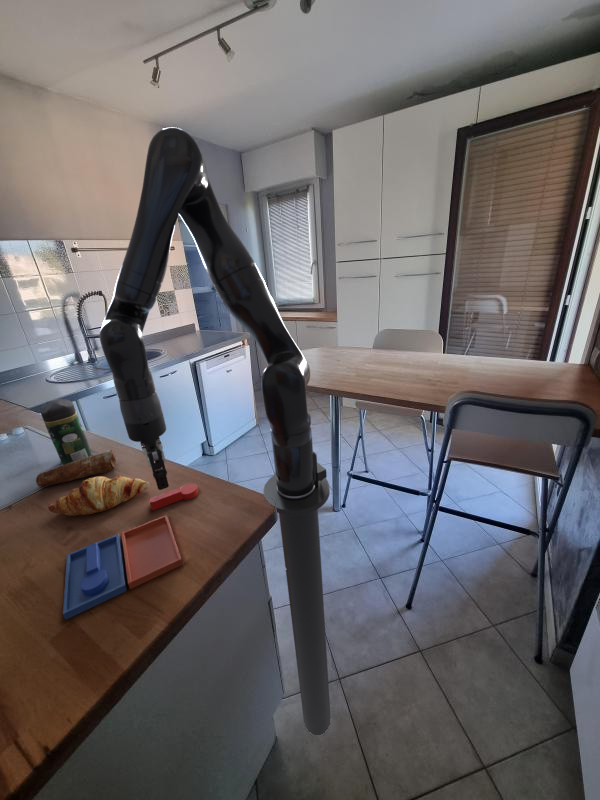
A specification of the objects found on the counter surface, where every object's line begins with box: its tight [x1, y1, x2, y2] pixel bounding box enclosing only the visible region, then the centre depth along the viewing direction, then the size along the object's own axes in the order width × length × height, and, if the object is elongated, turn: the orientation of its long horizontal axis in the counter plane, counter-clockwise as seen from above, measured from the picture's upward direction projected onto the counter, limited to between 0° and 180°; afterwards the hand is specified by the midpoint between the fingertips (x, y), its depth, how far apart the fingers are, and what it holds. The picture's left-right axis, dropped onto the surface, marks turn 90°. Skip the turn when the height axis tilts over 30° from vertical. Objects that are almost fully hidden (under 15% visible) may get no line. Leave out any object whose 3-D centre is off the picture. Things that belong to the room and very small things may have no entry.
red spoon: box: [148, 483, 199, 511], centre depth 78 cm, size 11×4×2 cm, turn 121°
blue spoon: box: [80, 541, 109, 596], centre depth 60 cm, size 11×4×2 cm, turn 31°
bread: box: [35, 449, 117, 488], centre depth 90 cm, size 6×19×6 cm, turn 112°
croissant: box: [47, 474, 150, 517], centre depth 79 cm, size 21×10×8 cm, turn 113°
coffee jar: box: [40, 397, 93, 465], centre depth 95 cm, size 10×8×19 cm
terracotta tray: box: [121, 514, 184, 590], centre depth 65 cm, size 9×14×1 cm, turn 31°
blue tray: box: [62, 533, 128, 620], centre depth 61 cm, size 9×14×1 cm, turn 31°
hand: (160, 478), depth 76 cm, fingers open, 8 cm apart
